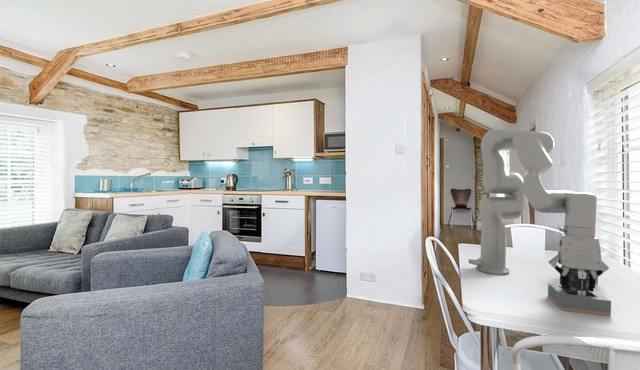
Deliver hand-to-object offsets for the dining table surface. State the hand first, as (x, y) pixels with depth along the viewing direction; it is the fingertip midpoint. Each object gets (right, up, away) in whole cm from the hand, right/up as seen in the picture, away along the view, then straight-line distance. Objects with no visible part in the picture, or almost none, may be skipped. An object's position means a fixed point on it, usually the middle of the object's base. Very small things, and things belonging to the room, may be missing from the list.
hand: (576, 288), depth 102 cm
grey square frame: (0, -5, 0) cm, 5 cm away
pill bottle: (0, -3, 0) cm, 3 cm away
